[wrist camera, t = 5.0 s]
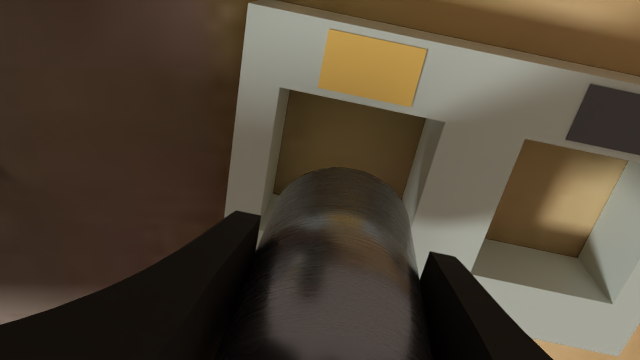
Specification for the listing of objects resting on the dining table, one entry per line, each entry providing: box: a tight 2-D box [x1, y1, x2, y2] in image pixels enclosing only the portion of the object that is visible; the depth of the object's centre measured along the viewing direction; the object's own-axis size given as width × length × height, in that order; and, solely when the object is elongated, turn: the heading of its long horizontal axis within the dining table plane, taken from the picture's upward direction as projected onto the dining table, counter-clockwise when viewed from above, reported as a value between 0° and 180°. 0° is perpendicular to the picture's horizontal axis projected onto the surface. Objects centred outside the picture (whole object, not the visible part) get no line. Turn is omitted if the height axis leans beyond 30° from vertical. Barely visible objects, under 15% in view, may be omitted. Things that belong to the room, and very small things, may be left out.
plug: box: [214, 167, 433, 360], centre depth 10 cm, size 4×4×7 cm
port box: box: [224, 0, 640, 356], centre depth 17 cm, size 10×16×3 cm, turn 79°
